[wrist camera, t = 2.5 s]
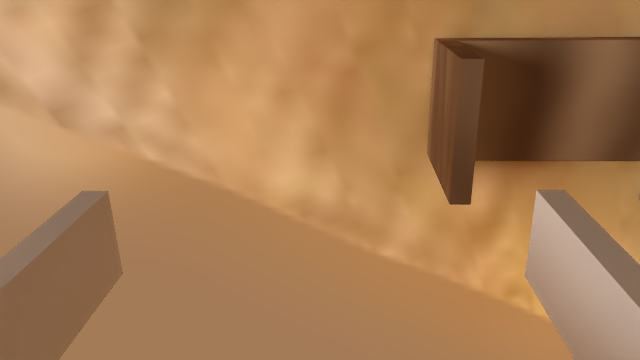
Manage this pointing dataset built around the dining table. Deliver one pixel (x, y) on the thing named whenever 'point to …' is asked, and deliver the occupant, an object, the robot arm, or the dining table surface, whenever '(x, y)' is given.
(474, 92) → the sled
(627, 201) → the dining table surface
